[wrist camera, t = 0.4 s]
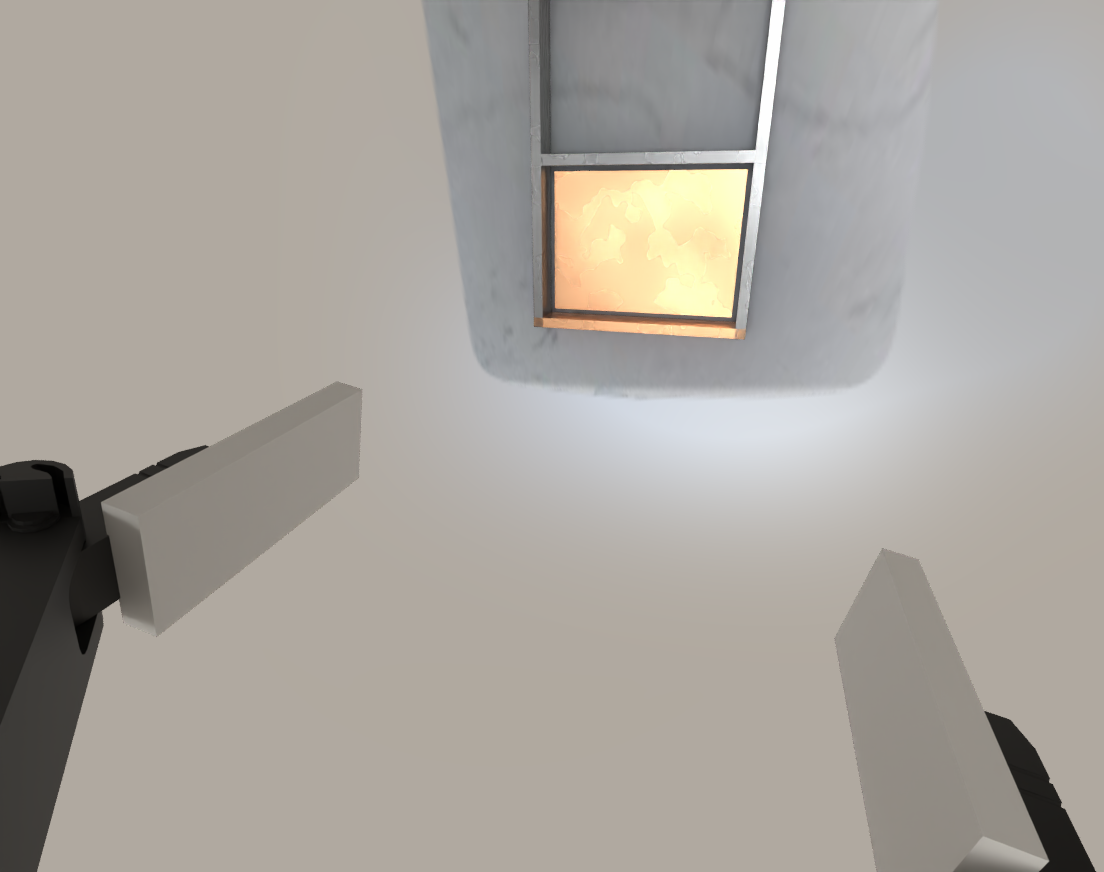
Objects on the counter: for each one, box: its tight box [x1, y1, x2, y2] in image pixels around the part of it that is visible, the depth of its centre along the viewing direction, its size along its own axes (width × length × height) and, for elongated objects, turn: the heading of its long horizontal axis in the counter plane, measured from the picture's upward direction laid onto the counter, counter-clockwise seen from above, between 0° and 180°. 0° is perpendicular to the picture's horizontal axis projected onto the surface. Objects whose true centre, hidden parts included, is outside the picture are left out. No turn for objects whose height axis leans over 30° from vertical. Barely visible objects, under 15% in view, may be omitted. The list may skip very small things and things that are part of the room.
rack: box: [528, 0, 785, 339], centre depth 33 cm, size 29×13×2 cm, turn 0°
